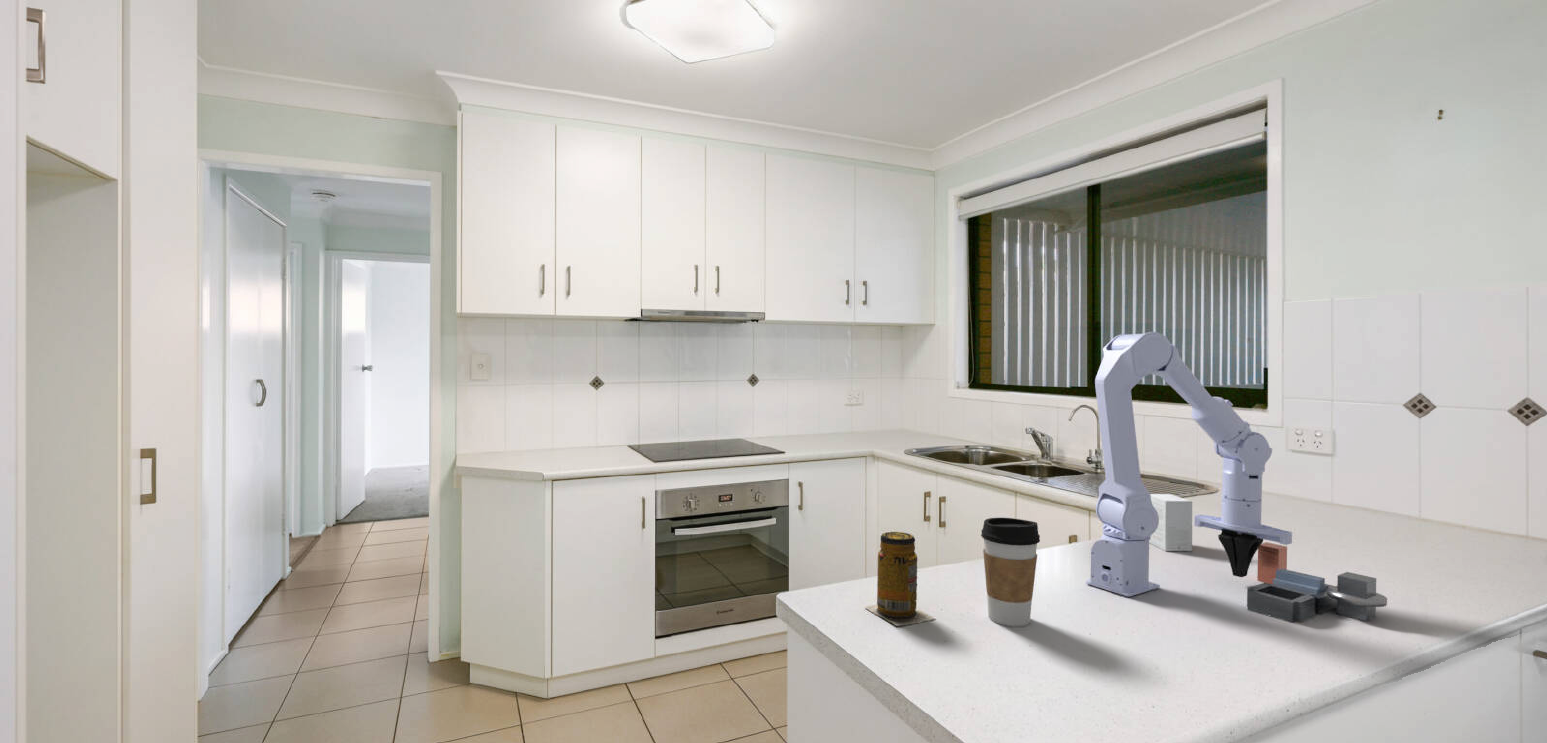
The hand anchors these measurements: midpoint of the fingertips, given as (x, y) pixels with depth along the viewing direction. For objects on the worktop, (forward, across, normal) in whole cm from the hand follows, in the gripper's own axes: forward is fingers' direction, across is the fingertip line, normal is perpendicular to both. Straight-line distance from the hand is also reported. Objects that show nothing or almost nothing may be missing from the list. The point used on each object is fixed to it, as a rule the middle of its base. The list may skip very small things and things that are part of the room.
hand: (1239, 575), depth 118 cm
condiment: (+2, +20, +61) cm, 64 cm away
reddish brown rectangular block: (+2, -2, -7) cm, 8 cm away
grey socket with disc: (+2, -12, +4) cm, 13 cm away
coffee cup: (+2, +10, +48) cm, 49 cm away
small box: (+2, +20, -14) cm, 25 cm away
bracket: (+2, -9, 0) cm, 9 cm away
